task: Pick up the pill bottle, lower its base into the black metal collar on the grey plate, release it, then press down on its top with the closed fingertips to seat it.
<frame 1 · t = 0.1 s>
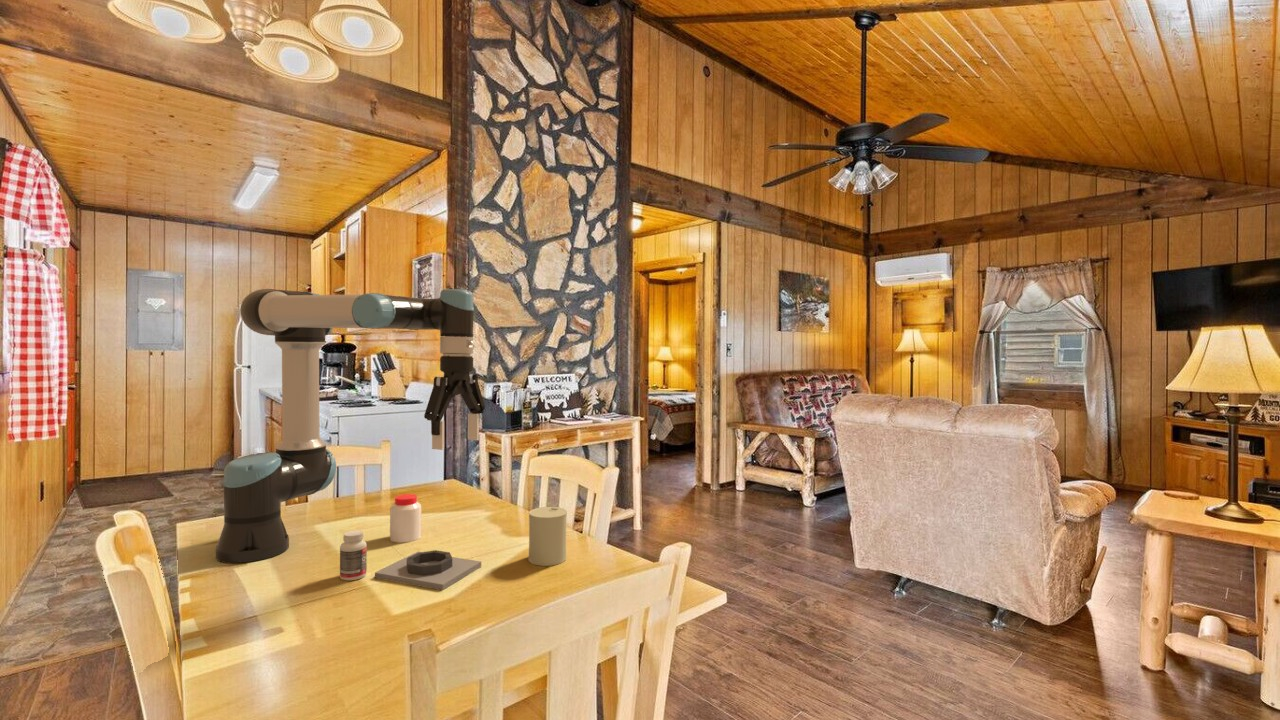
hand: (456, 444, 142), 28 cm above the table, fingers open, 13 cm apart
pill bottle: (353, 577, 132), on the table
collar plate: (429, 572, 135), on the table
can: (547, 559, 145), on the table
pill bottle 2: (405, 538, 158), on the table
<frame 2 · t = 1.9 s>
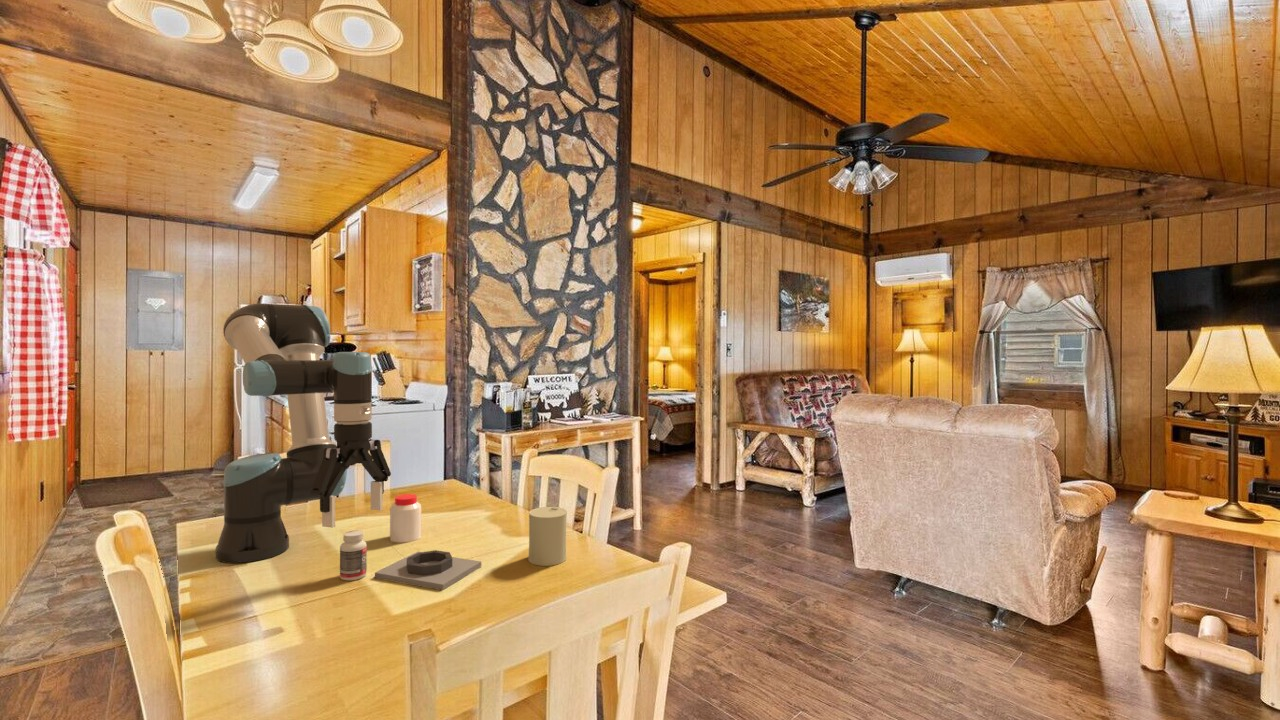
hand: (353, 517, 132), 13 cm above the table, fingers open, 13 cm apart
nothing on the table moved.
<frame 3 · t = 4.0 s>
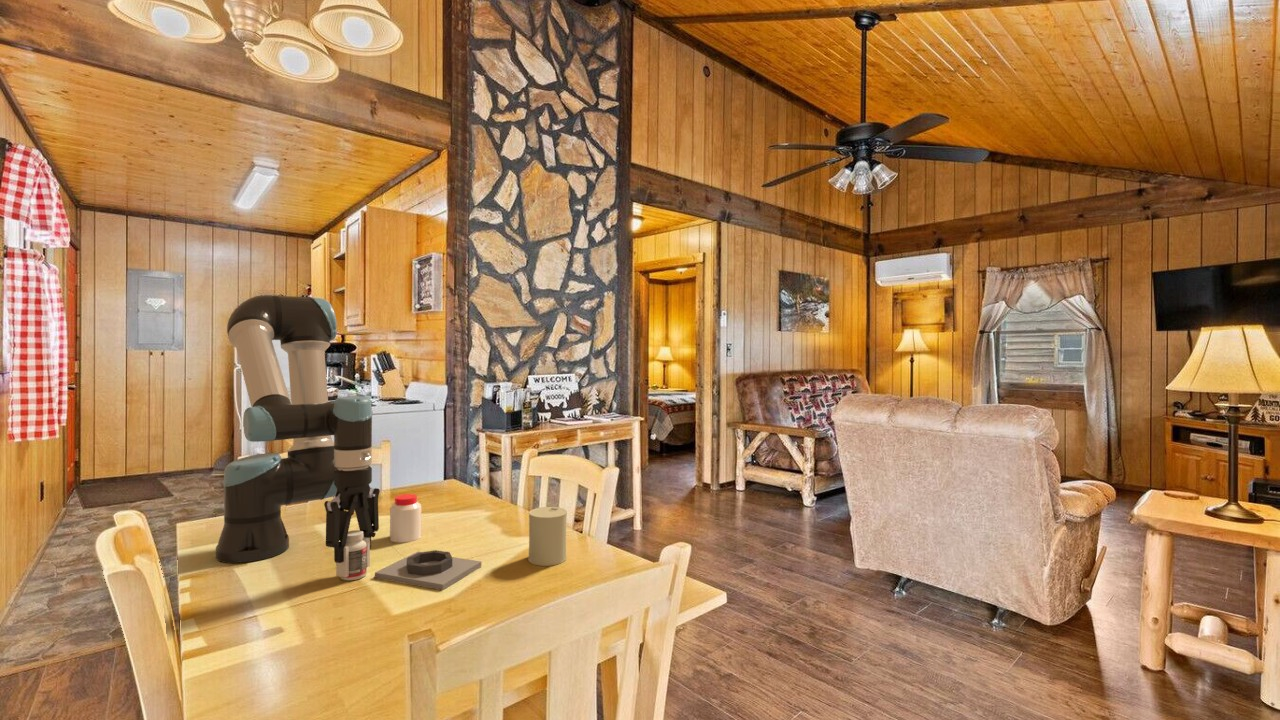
hand: (353, 570, 132), 1 cm above the table, fingers closed on pill bottle, 5 cm apart
pill bottle: (353, 577, 132), on the table, touching gripper
everything else where it was.
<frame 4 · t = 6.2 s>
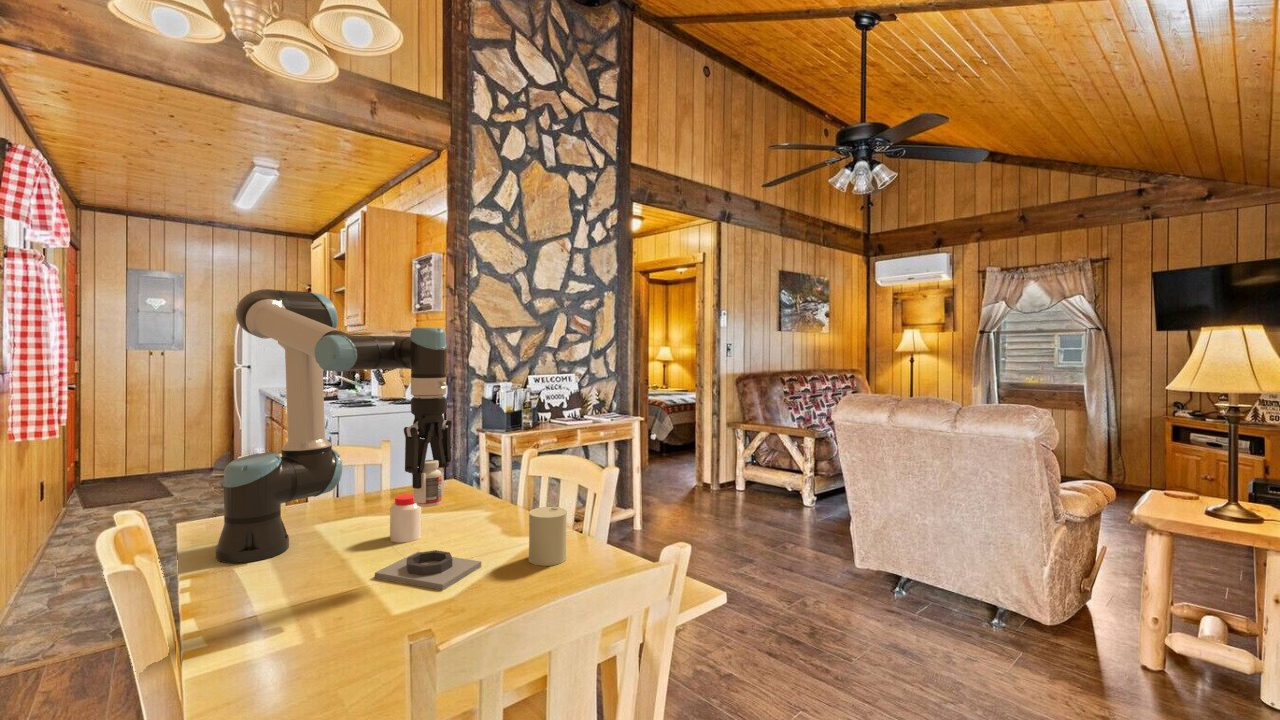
hand: (428, 498, 135), 17 cm above the table, fingers closed on pill bottle, 5 cm apart
pill bottle: (429, 505, 135), point 15 cm above the table, touching gripper
everything else where it was.
when the fingers open (4 cm above the table, at t = 8.7 s): pill bottle drops 1 cm, resting on collar plate.
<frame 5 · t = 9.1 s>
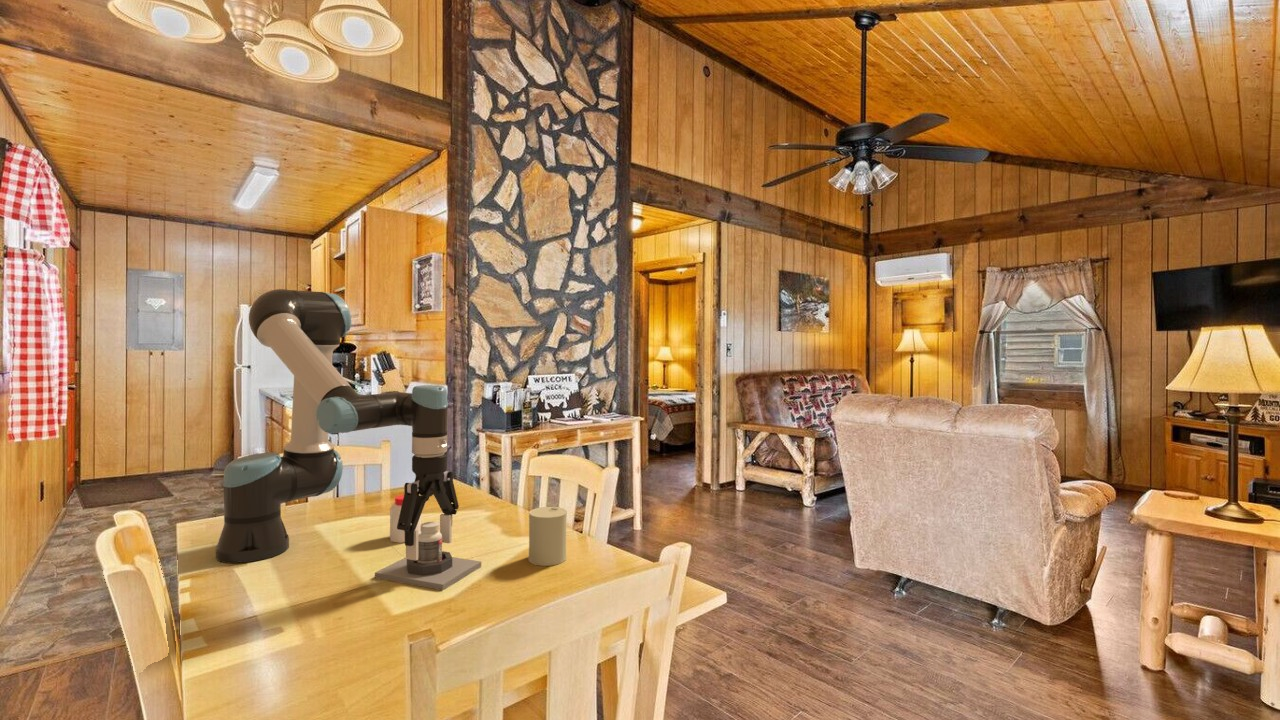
hand: (429, 550, 135), 5 cm above the table, fingers open, 11 cm apart
pill bottle: (429, 567, 135), point 1 cm above the table, touching collar plate
everything else where it was.
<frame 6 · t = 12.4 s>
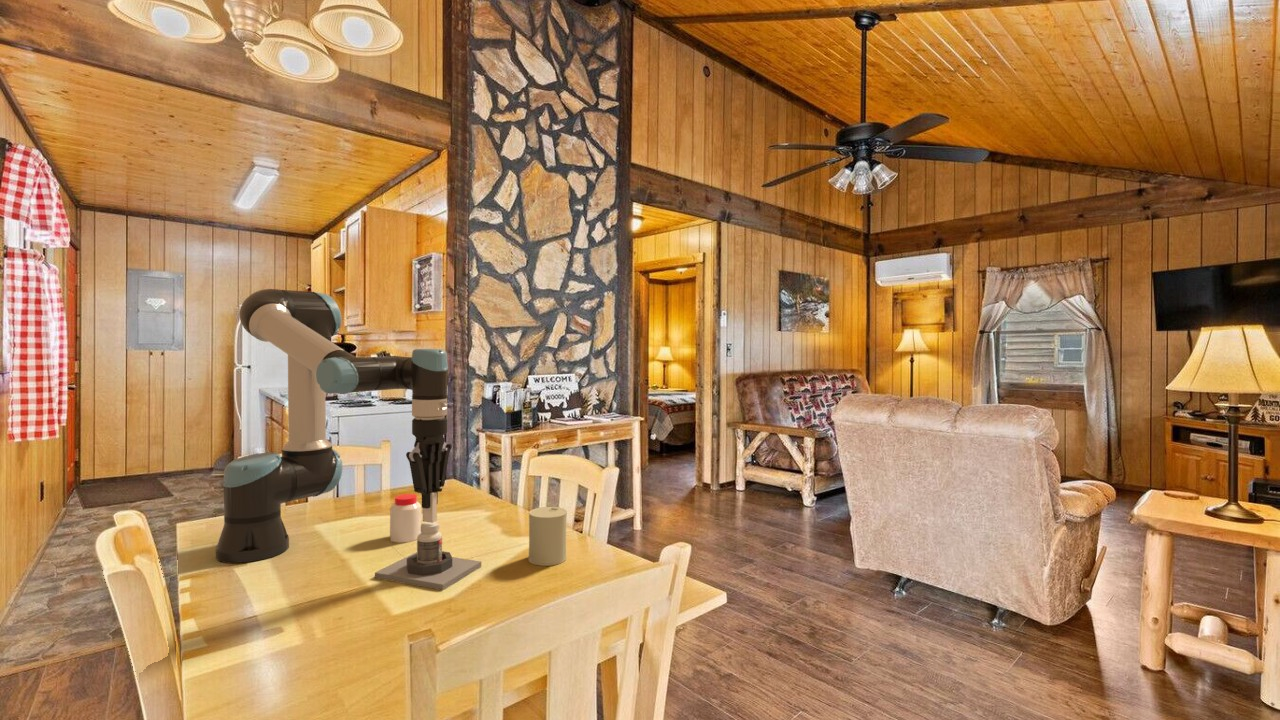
hand: (429, 520, 135), 12 cm above the table, fingers closed
nothing on the table moved.
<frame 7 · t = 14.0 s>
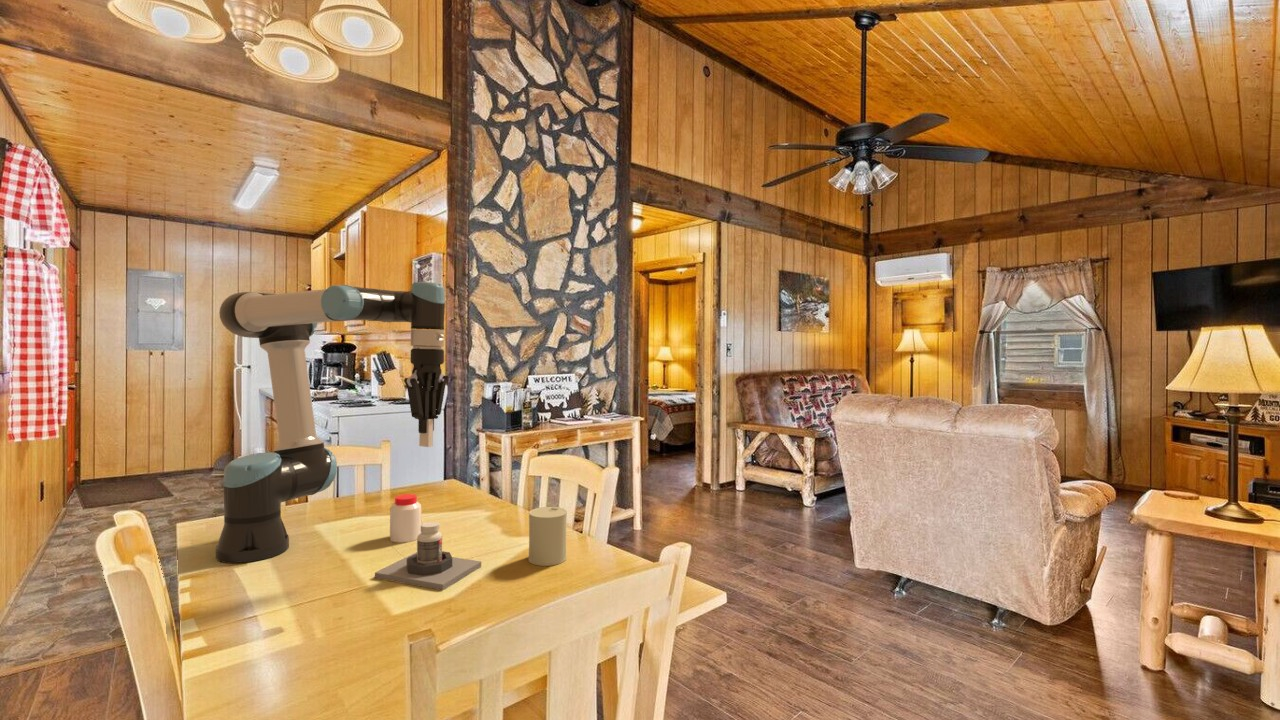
hand: (426, 445, 143), 27 cm above the table, fingers closed
nothing on the table moved.
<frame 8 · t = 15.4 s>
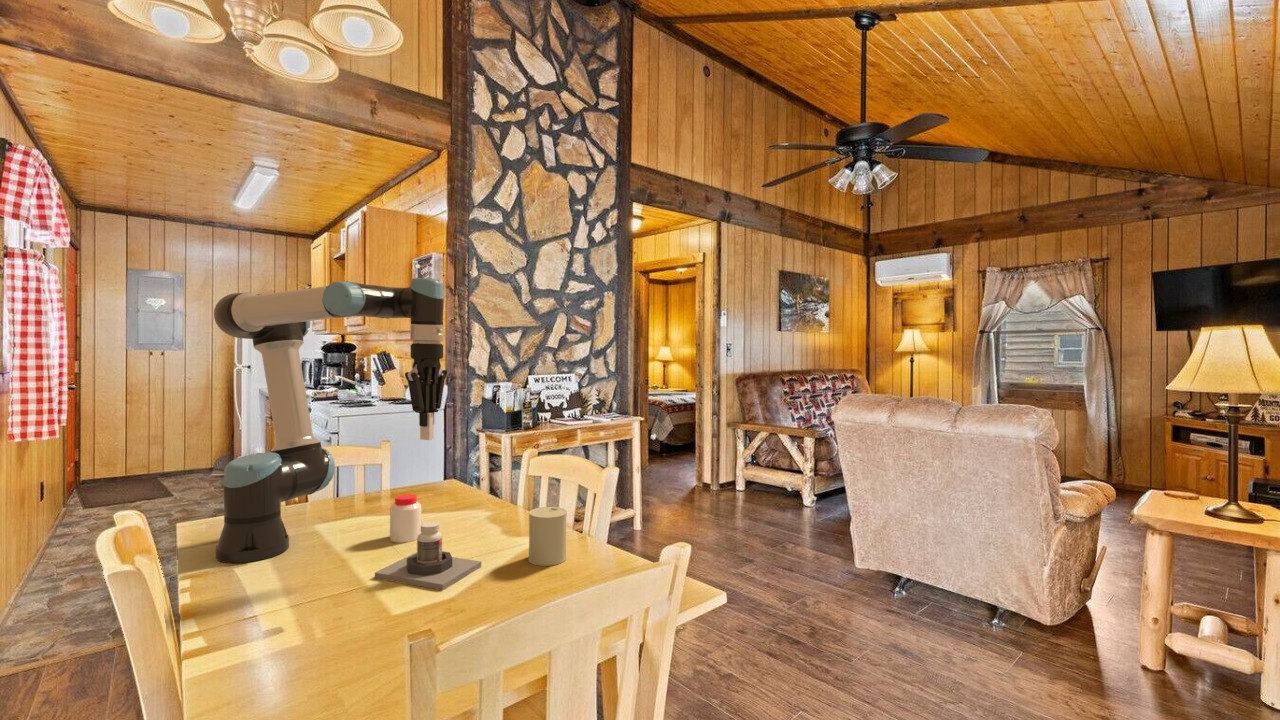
hand: (426, 439, 146), 28 cm above the table, fingers closed
nothing on the table moved.
at the end: pill bottle 0.1 cm off-centre on the collar plate, point 1.0 cm above the collar plate's base; pill bottle tilted 0°; the gripper is holding nothing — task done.
